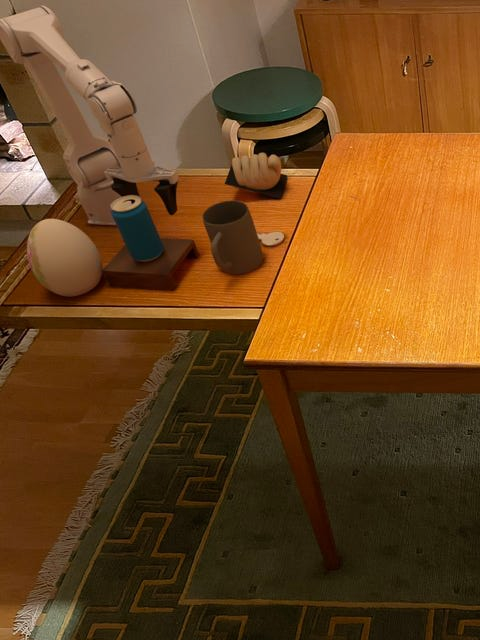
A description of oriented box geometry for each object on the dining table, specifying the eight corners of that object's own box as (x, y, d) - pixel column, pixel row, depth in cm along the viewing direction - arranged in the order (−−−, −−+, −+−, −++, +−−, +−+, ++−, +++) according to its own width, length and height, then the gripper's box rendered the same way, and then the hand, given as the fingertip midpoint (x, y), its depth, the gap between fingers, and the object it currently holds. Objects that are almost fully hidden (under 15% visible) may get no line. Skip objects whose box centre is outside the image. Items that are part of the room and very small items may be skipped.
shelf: (110, 286, 145) (101, 270, 142) (139, 251, 153) (131, 236, 150) (174, 290, 143) (167, 274, 140) (199, 255, 151) (193, 239, 148)
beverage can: (171, 247, 147) (150, 196, 138) (152, 265, 142) (128, 214, 134) (145, 243, 148) (123, 192, 140) (125, 261, 144) (100, 209, 136)
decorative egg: (61, 267, 150) (26, 205, 140) (119, 265, 150) (88, 203, 140) (36, 304, 141) (-3, 241, 131) (97, 302, 141) (62, 238, 131)
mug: (229, 248, 152) (211, 199, 144) (270, 249, 151) (255, 200, 143) (204, 288, 143) (184, 238, 134) (248, 289, 142) (230, 239, 133)
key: (288, 233, 154) (274, 246, 151) (288, 235, 155) (275, 247, 151) (247, 224, 158) (233, 237, 155) (247, 225, 158) (233, 238, 155)
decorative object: (292, 148, 168) (286, 172, 161) (285, 184, 175) (279, 208, 168) (236, 133, 164) (227, 156, 158) (231, 170, 171) (223, 194, 164)
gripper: (175, 142, 139) (198, 202, 149) (108, 139, 141) (134, 199, 151) (157, 159, 134) (182, 221, 144) (88, 156, 136) (117, 217, 146)
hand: (156, 211), depth 147 cm, fingers open, 7 cm apart
